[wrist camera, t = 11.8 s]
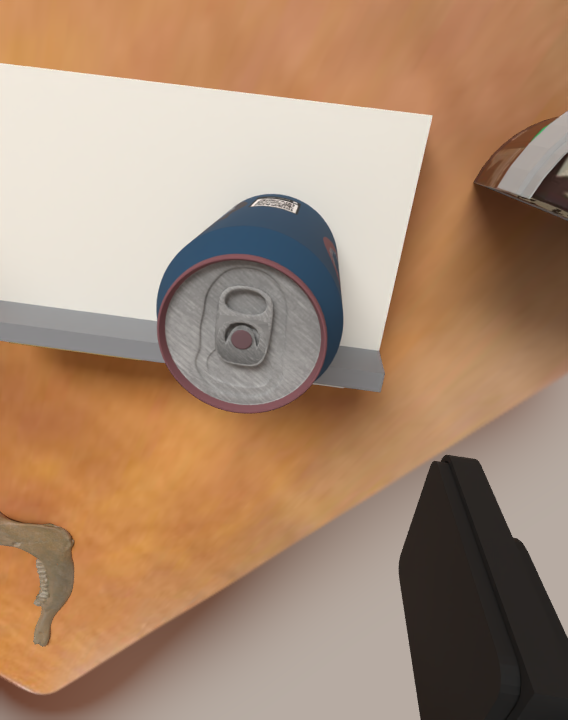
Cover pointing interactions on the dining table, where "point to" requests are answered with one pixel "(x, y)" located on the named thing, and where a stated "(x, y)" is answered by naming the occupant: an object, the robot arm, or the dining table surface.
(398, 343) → the dining table surface
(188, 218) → the display shelf
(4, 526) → the jawbone
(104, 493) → the dining table surface
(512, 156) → the food container
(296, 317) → the soda can
